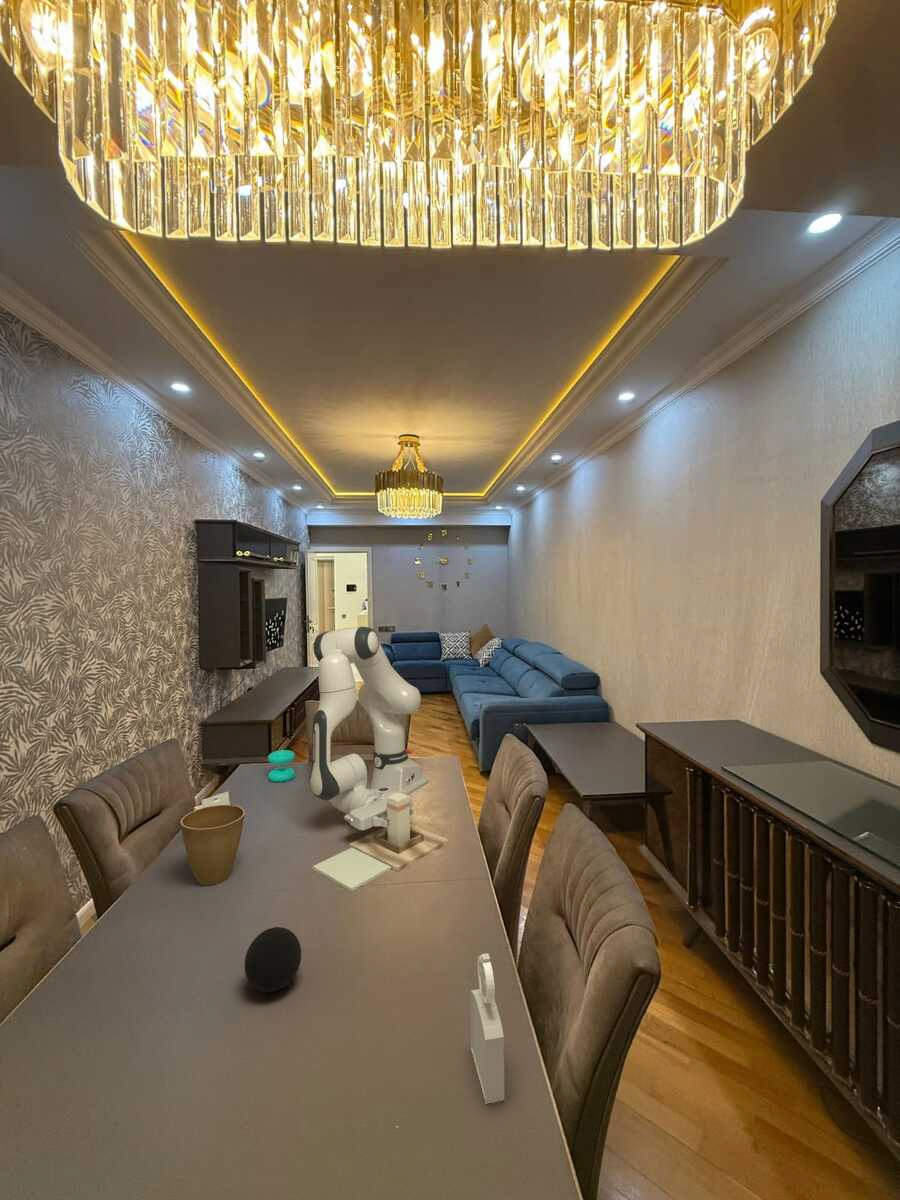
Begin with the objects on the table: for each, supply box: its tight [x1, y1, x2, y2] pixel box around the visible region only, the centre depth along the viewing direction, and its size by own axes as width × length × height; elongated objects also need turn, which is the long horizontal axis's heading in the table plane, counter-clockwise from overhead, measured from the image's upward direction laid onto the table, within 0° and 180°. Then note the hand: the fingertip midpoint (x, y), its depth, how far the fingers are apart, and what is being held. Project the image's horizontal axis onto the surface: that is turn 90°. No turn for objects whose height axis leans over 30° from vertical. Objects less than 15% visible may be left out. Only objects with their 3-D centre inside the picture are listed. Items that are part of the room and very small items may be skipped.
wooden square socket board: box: [348, 823, 449, 872], centre depth 151 cm, size 20×20×3 cm
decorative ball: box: [244, 926, 302, 993], centre depth 98 cm, size 10×10×10 cm
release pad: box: [312, 848, 392, 892], centre depth 139 cm, size 13×16×1 cm
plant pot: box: [180, 804, 246, 886], centre depth 135 cm, size 15×15×16 cm
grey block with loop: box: [469, 953, 505, 1105], centre depth 80 cm, size 3×9×18 cm, turn 11°
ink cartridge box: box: [193, 791, 231, 811], centre depth 153 cm, size 9×5×15 cm, turn 143°
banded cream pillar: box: [387, 793, 411, 846], centre depth 151 cm, size 5×5×14 cm
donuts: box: [267, 749, 296, 783], centre depth 206 cm, size 10×10×10 cm
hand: (400, 818), depth 151 cm, fingers open, 8 cm apart
